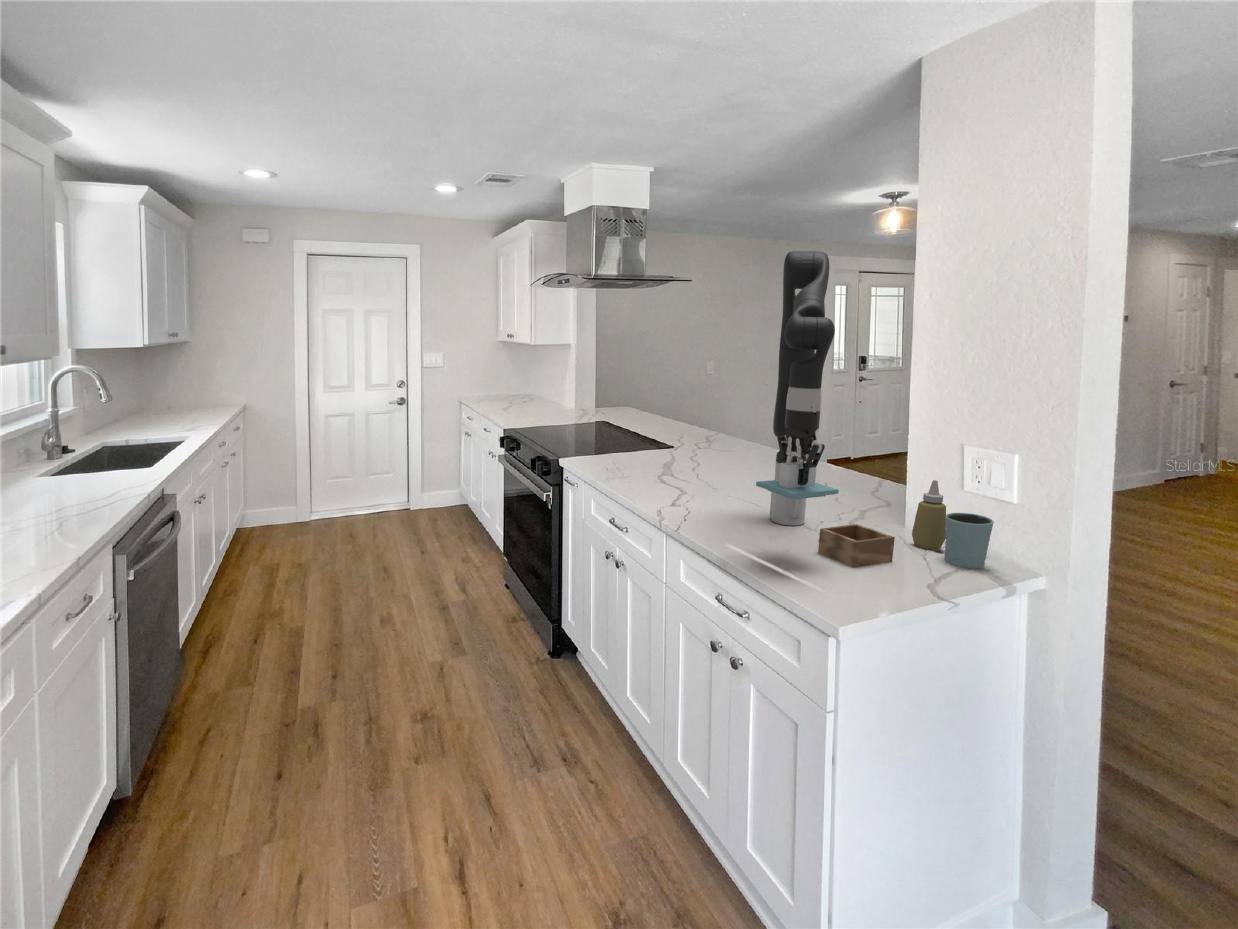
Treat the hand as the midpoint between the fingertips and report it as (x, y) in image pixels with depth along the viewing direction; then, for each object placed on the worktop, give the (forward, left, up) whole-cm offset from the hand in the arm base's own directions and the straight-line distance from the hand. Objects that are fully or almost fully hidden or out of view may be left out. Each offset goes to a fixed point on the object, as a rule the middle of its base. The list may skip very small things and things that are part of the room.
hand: (797, 482), depth 164 cm
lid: (0, 0, -2) cm, 2 cm away
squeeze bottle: (+3, +42, -20) cm, 47 cm away
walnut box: (+3, +17, -20) cm, 26 cm away
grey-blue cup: (+16, +39, -20) cm, 47 cm away
